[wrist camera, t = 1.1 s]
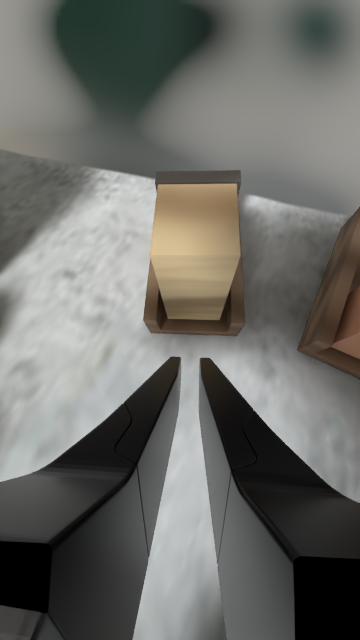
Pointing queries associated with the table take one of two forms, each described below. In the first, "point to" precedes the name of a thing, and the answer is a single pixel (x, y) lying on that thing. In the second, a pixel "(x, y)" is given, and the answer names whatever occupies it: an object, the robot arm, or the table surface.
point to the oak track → (234, 304)
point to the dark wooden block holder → (335, 301)
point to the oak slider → (195, 248)
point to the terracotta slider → (349, 326)
